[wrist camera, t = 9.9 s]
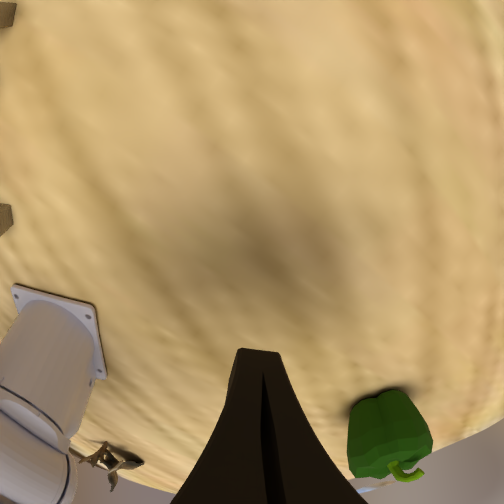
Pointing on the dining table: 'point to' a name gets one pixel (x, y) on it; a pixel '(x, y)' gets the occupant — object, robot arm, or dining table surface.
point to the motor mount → (3, 17)
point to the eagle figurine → (110, 463)
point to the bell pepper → (387, 437)
